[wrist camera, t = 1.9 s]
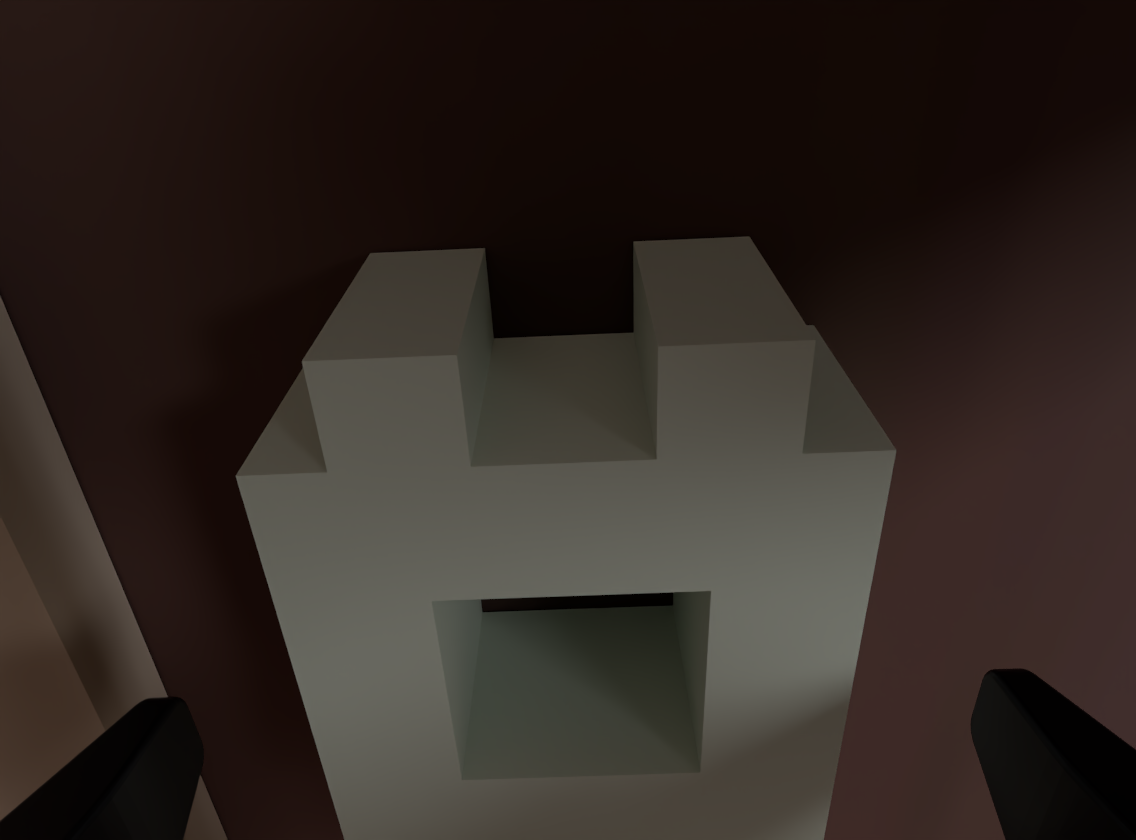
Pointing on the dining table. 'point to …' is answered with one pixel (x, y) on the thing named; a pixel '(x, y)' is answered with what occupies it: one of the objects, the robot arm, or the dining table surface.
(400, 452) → the green gear
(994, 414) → the dining table surface
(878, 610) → the dining table surface
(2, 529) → the peg board
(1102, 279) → the dining table surface
